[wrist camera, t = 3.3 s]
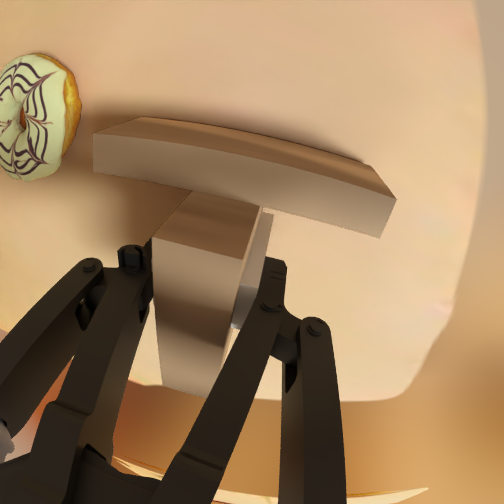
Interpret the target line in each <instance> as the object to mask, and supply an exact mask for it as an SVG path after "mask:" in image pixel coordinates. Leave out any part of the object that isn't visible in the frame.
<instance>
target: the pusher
mask: <svg viewBox="0 0 504 504" xmlns="http://www.w3.org/2000/svg"><path fill="white" fill-rule="evenodd" d="M93 172H97V173H103V174H109V175H115V176H121V177H126V178H132V179H137V180H142V181H148V182H153V183H158V184H163V185H168V186H173V187H178V188H183V189H187V190H192V192H191V193H190V194H189V195H188V196H187V197H186V199H185V200H184V201H183V202H182V203H181V204H180V205H179V206H178V207H177V208H176V210H175V211H174V212H173V213H172V214H171V215H170V216H169V218H168V219H167V220H166V221H165V222H164V223H163V224H162V226H161V227H160V228H159V229H158V230H157V231H156V233H155V234H154V235H153V236H152V265H153V289H154V306H155V319H156V331H157V342H158V351H159V360H160V368H161V376H162V383H163V385H164V386H167V387H170V388H173V389H176V390H179V391H182V392H185V393H189V394H192V395H195V396H199V397H202V398H206V399H207V397H208V395H209V393H210V391H211V389H212V387H213V385H214V383H215V381H216V379H217V377H218V375H219V373H220V371H221V369H222V367H223V364H224V361H225V357H226V353H227V350H228V346H229V342H230V339H231V335H232V332H233V328H232V327H231V323H232V318H233V314H234V309H235V304H236V300H237V295H238V291H239V286H240V282H241V279H242V275H243V272H244V269H245V265H246V262H247V259H248V255H249V252H250V249H251V245H252V242H253V238H254V235H255V232H256V228H257V225H258V222H259V218H260V215H261V212H262V210H263V207H266V208H270V209H274V210H278V211H282V212H286V213H290V214H293V215H297V216H301V217H305V218H309V219H312V220H316V221H320V222H323V223H327V224H331V225H334V226H338V227H341V228H345V229H348V230H352V231H355V232H359V233H362V234H366V235H369V236H372V237H376V238H379V239H380V237H381V234H382V232H383V230H384V228H385V226H386V223H387V221H388V219H389V216H390V214H391V212H392V209H393V207H394V205H395V202H396V200H397V199H396V198H395V196H394V195H393V194H392V192H391V191H390V190H389V188H388V187H387V186H386V184H385V183H384V182H383V181H382V179H381V178H380V177H379V175H378V174H377V173H376V172H375V170H374V169H373V168H372V167H371V166H369V165H366V164H363V163H360V162H357V161H354V160H351V159H348V158H345V157H342V156H338V155H335V154H332V153H328V152H325V151H322V150H318V149H314V148H311V147H307V146H304V145H300V144H296V143H292V142H288V141H284V140H280V139H276V138H271V137H267V136H263V135H258V134H253V133H248V132H244V131H238V130H233V129H228V128H222V127H217V126H211V125H204V124H198V123H191V122H184V121H176V120H168V119H159V118H149V117H140V118H137V119H133V120H130V121H127V122H124V123H121V124H118V125H115V126H112V127H109V128H106V129H103V130H101V131H98V132H95V133H93Z"/></svg>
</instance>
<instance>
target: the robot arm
mask: <svg viewBox="0 0 504 504" xmlns="http://www.w3.org/2000/svg"><path fill="white" fill-rule="evenodd" d="M273 217H274V215H273V214H269V213H265V212H261V215H260V218H259V222H258V225H257V228H256V232H255V235H254V238H253V242H252V245H251V249H250V252H249V255H248V259H247V262H246V265H245V269H244V272H243V275H242V279H241V282H240V286H239V291H238V295H237V300H236V304H235V309H234V314H233V318H232V323H231V327H232V328H236V329H240V332H239V334H238V336H237V338H236V340H235V342H234V344H233V346H232V349H231V351H230V353H229V355H228V357H227V359H226V361H225V363H224V365H223V367H222V369H221V371H220V373H219V375H218V377H217V379H216V381H215V383H214V385H213V387H212V389H211V391H210V393H209V395H208V397H207V399H206V401H205V403H204V405H203V407H202V409H201V411H200V413H199V415H198V417H197V419H196V421H195V423H194V425H193V427H192V429H191V431H190V433H189V435H188V437H187V439H186V441H185V443H184V445H183V446H182V448H181V449H180V451H179V452H178V453H177V454H176V455H175V457H174V458H173V460H172V462H171V464H170V465H169V467H168V469H167V471H166V473H165V475H164V477H163V479H162V480H158V479H155V478H150V477H143V476H136V475H130V474H124V473H121V472H119V471H118V470H117V469H115V468H114V467H113V466H111V461H112V456H113V433H114V429H115V425H116V421H117V417H118V413H119V409H120V405H121V401H122V398H123V394H124V391H125V387H126V383H127V380H128V377H129V373H130V370H131V366H132V363H133V360H134V357H135V353H136V350H137V347H138V344H139V341H140V338H141V335H142V332H143V329H144V326H145V323H146V320H147V317H148V314H149V309H150V307H149V303H150V301H151V300H152V298H153V303H154V289H153V265H152V237H151V238H150V239H149V241H148V242H147V243H146V244H145V246H143V247H141V246H139V245H126V246H123V247H121V248H120V249H119V250H118V251H117V252H118V261H119V267H118V268H107V267H103V264H102V262H101V261H100V260H99V259H97V258H86V259H83V260H82V261H80V262H79V263H78V264H76V265H75V266H74V267H73V268H72V269H71V270H70V271H69V272H68V273H67V274H66V275H65V276H63V277H62V278H61V279H60V280H59V281H58V282H57V283H56V284H55V285H54V286H53V287H52V288H51V289H50V290H49V291H48V292H47V293H46V294H45V295H44V296H43V297H42V298H41V299H40V300H39V301H38V302H37V303H36V304H35V305H34V306H33V307H32V308H31V309H30V310H29V311H28V312H27V314H26V315H25V316H24V317H23V318H22V319H21V320H20V321H19V322H18V323H17V324H16V326H15V327H14V328H13V329H12V330H11V331H10V332H9V333H8V335H7V336H6V337H5V338H4V339H3V340H2V342H1V343H0V504H211V502H212V500H213V498H214V496H215V493H216V491H217V489H218V487H219V484H220V482H221V480H222V477H223V475H224V472H225V469H226V466H227V464H228V461H229V459H230V457H231V454H232V452H233V449H234V447H235V445H236V442H237V440H238V437H239V435H240V432H241V430H242V427H243V425H244V422H245V420H246V417H247V415H248V412H249V410H250V407H251V404H252V402H253V399H254V397H255V394H256V391H257V389H258V386H259V383H260V380H261V378H262V375H263V372H264V370H265V367H266V364H267V361H268V358H269V356H270V355H271V356H273V357H274V358H276V359H278V360H280V361H282V412H281V416H282V417H281V450H280V475H279V496H278V504H347V500H346V474H345V457H344V443H343V431H342V420H341V409H340V400H339V391H338V382H337V374H336V366H335V359H334V352H333V345H332V338H331V331H330V328H329V326H328V325H327V324H326V322H325V321H323V320H321V319H320V318H316V317H306V318H304V319H303V320H301V319H299V318H297V317H295V316H293V315H292V314H290V313H289V312H288V311H287V309H286V308H285V306H284V294H285V284H286V274H287V266H286V264H285V262H284V261H283V260H279V259H275V258H271V257H267V256H265V255H266V251H267V246H268V241H269V236H270V231H271V227H272V222H273ZM73 356H74V358H73V360H72V362H71V365H70V367H69V370H68V372H67V375H66V377H65V380H64V382H63V385H62V387H61V390H60V393H59V395H58V397H57V399H56V400H55V401H52V402H49V403H48V404H47V405H46V407H45V409H44V411H43V414H42V417H41V420H40V423H39V426H38V429H37V432H36V435H35V438H34V442H33V445H32V449H31V452H30V453H27V454H25V455H22V456H20V457H17V458H15V459H12V460H9V461H6V462H4V460H5V456H6V455H7V453H12V452H13V451H14V444H13V442H12V441H11V439H12V438H13V437H14V436H15V435H16V434H17V433H18V432H19V431H20V430H21V429H22V428H23V427H24V425H25V424H26V423H27V421H28V420H29V419H30V417H31V415H32V414H33V412H34V411H35V409H36V408H37V406H38V405H39V403H40V402H41V400H42V399H43V398H44V396H45V395H46V393H47V392H48V390H49V389H50V387H51V386H52V384H53V383H54V382H55V380H56V379H57V378H58V376H59V375H60V373H61V372H62V371H63V369H64V368H65V367H66V365H67V364H68V362H69V361H70V360H71V359H72V357H73Z"/></svg>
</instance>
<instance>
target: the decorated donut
mask: <svg viewBox="0 0 504 504" xmlns="http://www.w3.org/2000/svg"><path fill="white" fill-rule="evenodd" d="M81 108H82V104H81V101H80V99H79V94H78V89H77V85H76V82H75V78H74V75H73V73H72V72H71V71H69V70H68V69H66V68H65V67H64V66H63V65H61V64H60V63H59V62H58V61H56V60H55V59H54V58H51V57H49V56H46V55H43V54H29V55H25V56H21V57H18V58H15V59H14V60H13V61H11V62H10V63H8V64H7V65H6V66H5V68H4V69H3V70H2V72H1V74H0V166H1V167H2V168H3V169H4V170H5V171H6V173H7V174H8V175H9V176H10V177H11V178H13V179H17V180H19V179H21V180H23V181H25V182H30V181H32V180H34V179H39V178H42V177H47V176H49V175H51V174H53V173H54V172H56V171H57V169H58V168H59V166H60V165H61V159H62V157H63V156H64V155H65V153H66V152H67V151H68V148H69V146H70V145H71V143H72V141H73V139H74V137H75V133H76V129H77V126H78V123H79V120H80V117H81V115H80V112H81Z"/></svg>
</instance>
